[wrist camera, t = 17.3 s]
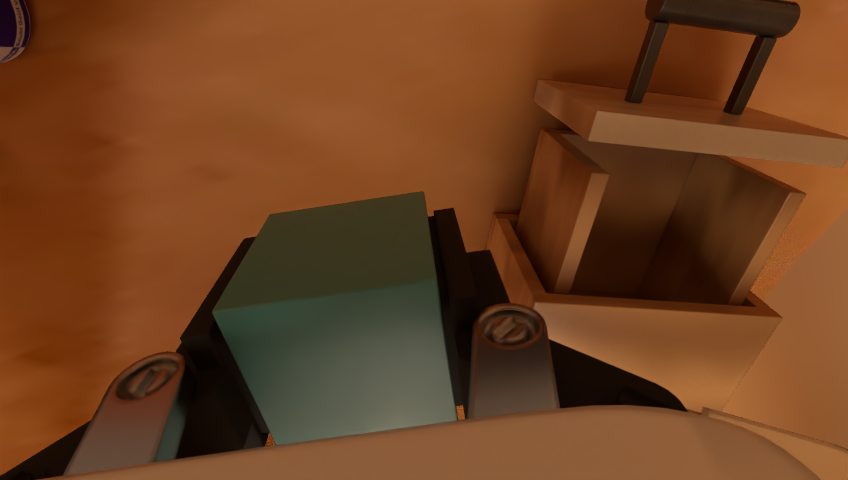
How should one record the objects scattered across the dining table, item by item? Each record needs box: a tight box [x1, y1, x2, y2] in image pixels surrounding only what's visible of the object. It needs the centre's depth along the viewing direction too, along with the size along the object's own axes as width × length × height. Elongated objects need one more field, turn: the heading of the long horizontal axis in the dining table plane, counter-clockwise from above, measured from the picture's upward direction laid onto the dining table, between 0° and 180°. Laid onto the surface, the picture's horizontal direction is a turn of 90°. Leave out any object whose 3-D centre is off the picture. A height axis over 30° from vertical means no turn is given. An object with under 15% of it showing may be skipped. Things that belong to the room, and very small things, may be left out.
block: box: [212, 191, 458, 445], centre depth 10 cm, size 4×4×4 cm
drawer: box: [515, 0, 848, 306], centre depth 23 cm, size 18×11×8 cm, turn 173°
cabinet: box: [486, 213, 782, 413], centre depth 28 cm, size 15×13×10 cm
